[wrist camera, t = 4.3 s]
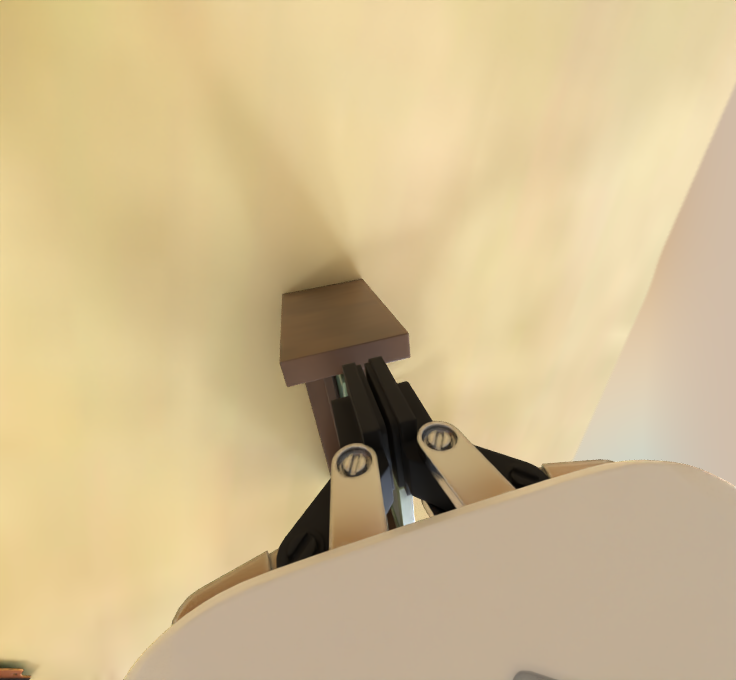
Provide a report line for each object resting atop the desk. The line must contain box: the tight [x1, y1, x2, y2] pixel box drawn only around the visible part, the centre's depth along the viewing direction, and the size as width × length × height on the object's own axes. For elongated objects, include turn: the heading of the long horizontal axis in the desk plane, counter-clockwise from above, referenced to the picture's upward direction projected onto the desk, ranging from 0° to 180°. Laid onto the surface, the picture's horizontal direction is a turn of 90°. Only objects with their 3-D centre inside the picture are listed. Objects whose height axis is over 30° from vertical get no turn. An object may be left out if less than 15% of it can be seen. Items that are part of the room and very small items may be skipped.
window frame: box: [280, 279, 415, 531], centre depth 26 cm, size 7×24×12 cm, turn 7°
